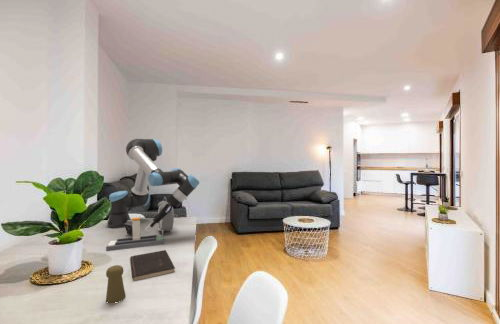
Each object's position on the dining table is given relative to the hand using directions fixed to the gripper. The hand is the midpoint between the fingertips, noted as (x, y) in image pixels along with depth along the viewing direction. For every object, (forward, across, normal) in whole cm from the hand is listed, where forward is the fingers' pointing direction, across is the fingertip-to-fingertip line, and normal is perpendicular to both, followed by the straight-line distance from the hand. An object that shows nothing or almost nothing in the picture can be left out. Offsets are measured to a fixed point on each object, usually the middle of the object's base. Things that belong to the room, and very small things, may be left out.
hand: (146, 230), depth 142 cm
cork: (+10, -56, -1) cm, 56 cm away
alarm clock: (-2, +19, -12) cm, 23 cm away
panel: (+9, 0, -1) cm, 9 cm away
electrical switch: (+12, +18, +1) cm, 22 cm away
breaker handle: (+7, 0, 0) cm, 7 cm away
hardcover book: (+3, -32, -8) cm, 33 cm away
